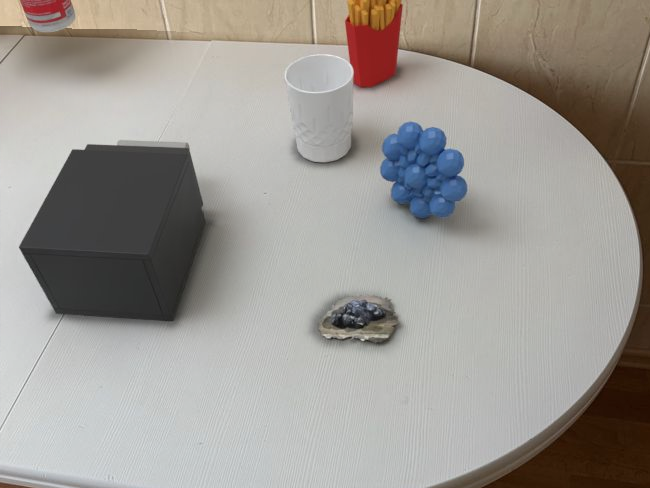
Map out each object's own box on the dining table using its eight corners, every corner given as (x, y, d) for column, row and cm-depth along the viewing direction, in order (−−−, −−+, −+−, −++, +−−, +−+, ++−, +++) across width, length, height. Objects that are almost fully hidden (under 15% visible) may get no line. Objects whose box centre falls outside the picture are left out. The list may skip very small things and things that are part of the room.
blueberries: (405, 341, 69) (405, 329, 67) (324, 357, 68) (323, 345, 66) (387, 291, 73) (387, 278, 71) (311, 306, 72) (309, 293, 70)
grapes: (484, 220, 78) (499, 128, 69) (444, 251, 76) (454, 160, 66) (407, 173, 84) (411, 82, 74) (367, 201, 81) (366, 110, 71)
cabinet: (100, 217, 82) (72, 148, 74) (206, 222, 80) (188, 153, 73) (55, 313, 73) (18, 247, 65) (173, 321, 72) (148, 254, 64)
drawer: (119, 176, 85) (99, 120, 78) (211, 180, 83) (198, 123, 77) (68, 285, 74) (40, 230, 68) (173, 291, 73) (154, 236, 67)
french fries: (360, 93, 94) (358, 4, 85) (342, 80, 96) (338, -8, 87) (408, 69, 97) (411, -20, 87) (389, 57, 99) (391, -31, 89)
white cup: (360, 129, 89) (358, 55, 81) (350, 168, 85) (347, 94, 77) (299, 125, 90) (292, 52, 83) (286, 163, 86) (277, 90, 78)
